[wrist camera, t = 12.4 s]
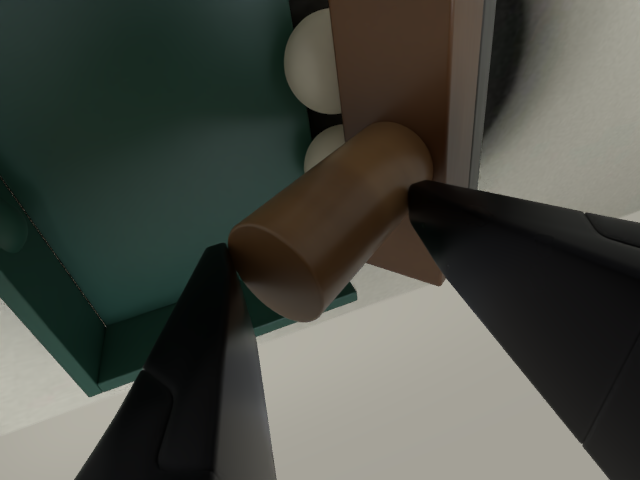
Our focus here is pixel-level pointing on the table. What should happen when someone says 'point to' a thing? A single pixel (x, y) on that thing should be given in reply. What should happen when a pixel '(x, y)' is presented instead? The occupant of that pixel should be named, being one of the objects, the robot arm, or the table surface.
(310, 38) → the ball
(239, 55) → the dustpan
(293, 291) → the brush
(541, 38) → the table surface
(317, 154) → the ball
